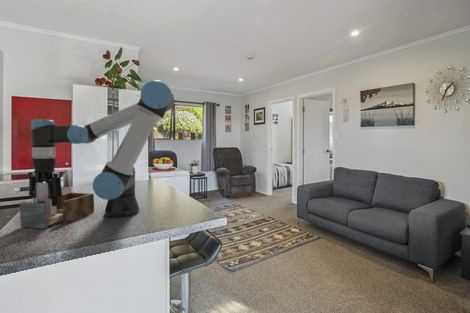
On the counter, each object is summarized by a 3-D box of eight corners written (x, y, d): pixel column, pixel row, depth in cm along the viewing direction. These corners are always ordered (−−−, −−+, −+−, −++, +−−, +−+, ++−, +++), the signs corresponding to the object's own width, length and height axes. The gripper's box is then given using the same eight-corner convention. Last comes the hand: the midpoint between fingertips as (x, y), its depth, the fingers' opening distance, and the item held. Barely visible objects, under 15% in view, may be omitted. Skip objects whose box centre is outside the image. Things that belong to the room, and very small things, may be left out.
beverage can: (33, 219, 98) (31, 182, 97) (47, 214, 104) (46, 180, 103) (45, 220, 97) (43, 183, 96) (58, 215, 103) (57, 181, 102)
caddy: (65, 222, 102) (65, 201, 102) (40, 220, 105) (39, 199, 104) (94, 211, 118) (93, 193, 118) (71, 210, 120) (70, 192, 120)
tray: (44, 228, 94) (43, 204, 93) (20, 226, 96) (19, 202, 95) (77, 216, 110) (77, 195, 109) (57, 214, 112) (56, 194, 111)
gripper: (71, 157, 101) (73, 212, 102) (33, 156, 104) (35, 209, 106) (55, 158, 94) (57, 217, 95) (15, 157, 97) (17, 214, 98)
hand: (46, 213), depth 100 cm, fingers closed on beverage can, 6 cm apart
